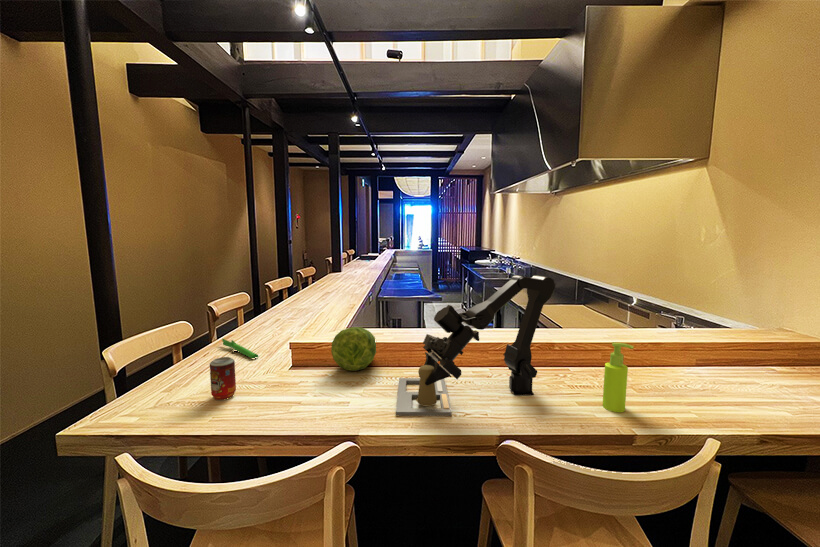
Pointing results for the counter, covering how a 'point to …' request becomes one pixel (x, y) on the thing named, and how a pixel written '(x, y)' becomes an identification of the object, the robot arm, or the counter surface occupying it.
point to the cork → (426, 387)
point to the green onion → (239, 348)
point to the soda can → (222, 378)
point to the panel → (406, 397)
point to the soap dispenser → (615, 380)
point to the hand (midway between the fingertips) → (422, 380)
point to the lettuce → (353, 348)
